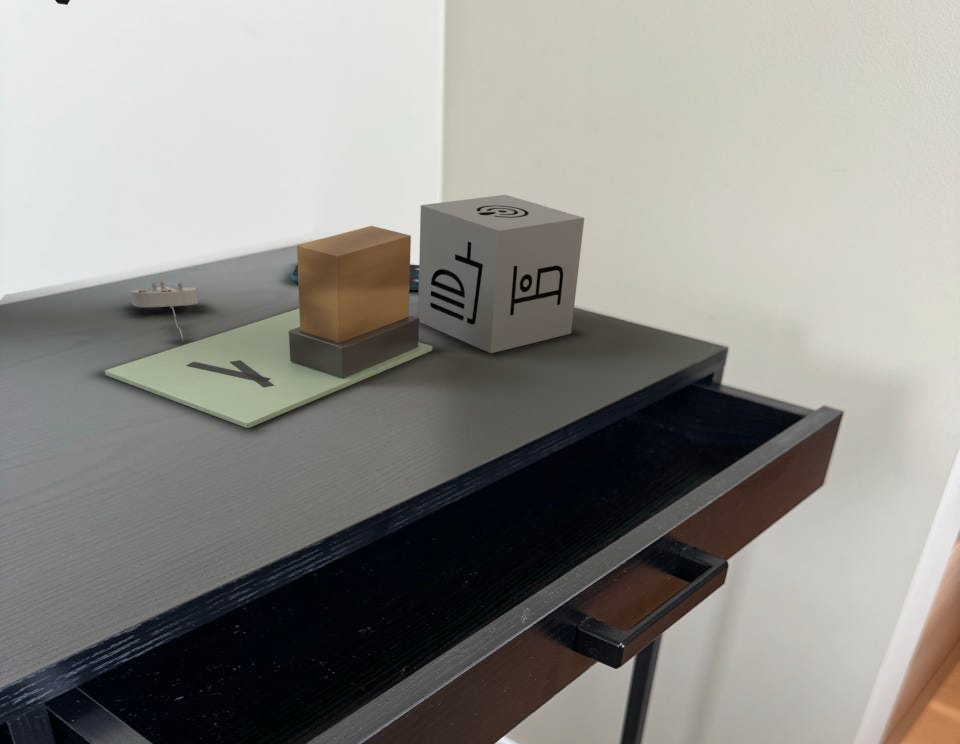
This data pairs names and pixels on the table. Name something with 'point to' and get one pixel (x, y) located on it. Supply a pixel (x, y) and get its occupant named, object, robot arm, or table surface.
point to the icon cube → (498, 271)
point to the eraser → (353, 301)
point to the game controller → (165, 298)
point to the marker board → (242, 373)
